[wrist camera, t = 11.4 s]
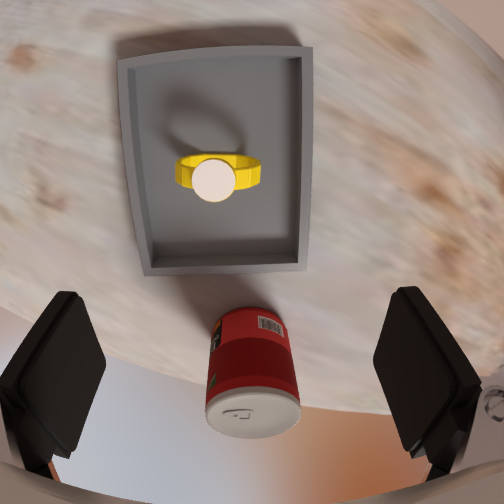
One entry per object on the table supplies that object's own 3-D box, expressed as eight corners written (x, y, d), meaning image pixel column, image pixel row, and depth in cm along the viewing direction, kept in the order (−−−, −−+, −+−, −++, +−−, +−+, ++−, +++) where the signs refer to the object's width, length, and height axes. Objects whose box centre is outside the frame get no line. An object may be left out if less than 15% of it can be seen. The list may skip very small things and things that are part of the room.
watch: (185, 177, 25) (164, 201, 20) (185, 144, 24) (162, 158, 19) (259, 180, 25) (258, 205, 20) (261, 146, 24) (261, 161, 18)
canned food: (203, 310, 32) (192, 398, 22) (282, 298, 31) (298, 385, 22) (221, 361, 35) (218, 443, 26) (290, 351, 35) (304, 433, 25)
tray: (305, 51, 21) (312, 47, 19) (301, 256, 29) (306, 270, 27) (127, 62, 21) (116, 60, 18) (150, 262, 29) (144, 276, 27)
